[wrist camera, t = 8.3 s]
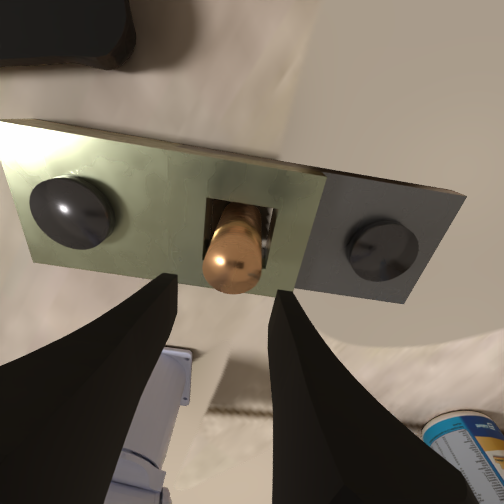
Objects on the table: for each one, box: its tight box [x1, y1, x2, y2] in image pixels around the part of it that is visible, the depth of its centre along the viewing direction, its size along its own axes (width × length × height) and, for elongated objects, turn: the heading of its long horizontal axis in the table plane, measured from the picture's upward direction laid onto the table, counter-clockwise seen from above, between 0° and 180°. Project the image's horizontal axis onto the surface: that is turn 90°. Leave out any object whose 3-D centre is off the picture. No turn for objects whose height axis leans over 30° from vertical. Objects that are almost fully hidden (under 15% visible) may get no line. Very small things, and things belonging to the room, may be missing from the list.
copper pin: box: [202, 202, 262, 294], centre depth 16 cm, size 3×3×7 cm
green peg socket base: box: [0, 119, 467, 304], centre depth 17 cm, size 9×28×4 cm, turn 81°
